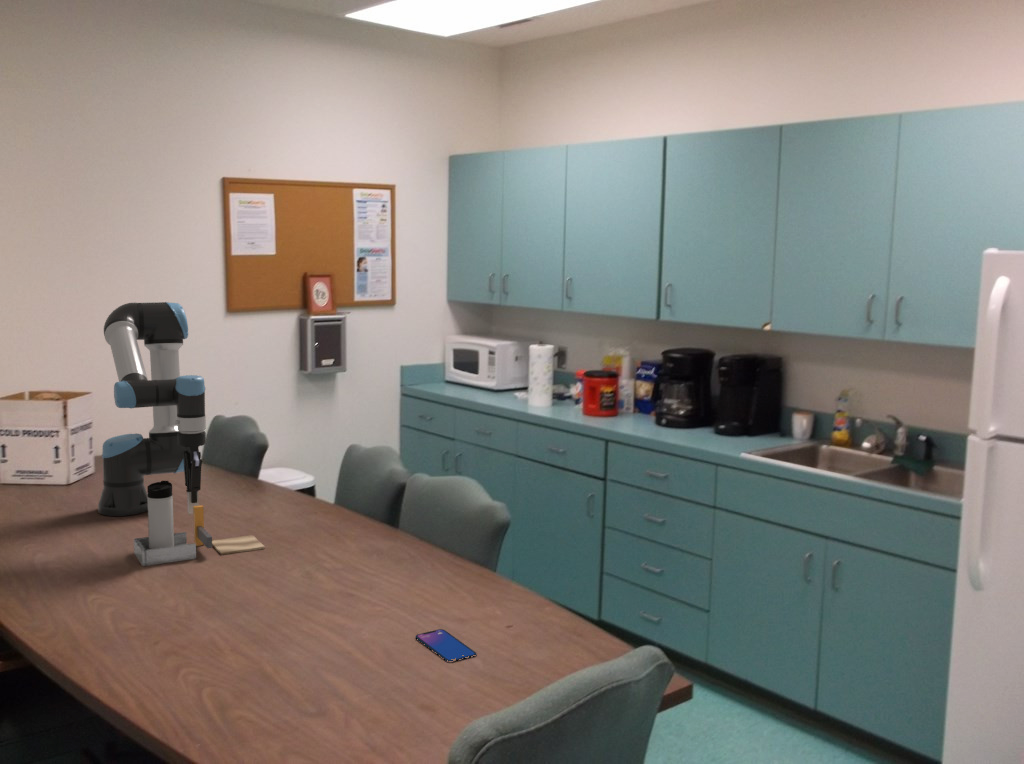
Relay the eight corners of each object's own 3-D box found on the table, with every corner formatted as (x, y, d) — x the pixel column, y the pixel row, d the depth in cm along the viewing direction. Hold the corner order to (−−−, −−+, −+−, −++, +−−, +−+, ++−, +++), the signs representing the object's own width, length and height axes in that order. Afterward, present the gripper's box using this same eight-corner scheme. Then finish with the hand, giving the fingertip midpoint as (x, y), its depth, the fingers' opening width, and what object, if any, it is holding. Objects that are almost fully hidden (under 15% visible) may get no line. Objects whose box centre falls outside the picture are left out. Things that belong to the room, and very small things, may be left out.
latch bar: (194, 544, 262) (193, 506, 261) (202, 543, 264) (202, 504, 262) (205, 557, 251) (204, 517, 250) (214, 556, 253) (213, 516, 251)
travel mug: (178, 553, 255) (177, 480, 252) (167, 560, 248) (165, 487, 245) (156, 551, 255) (154, 479, 253) (144, 559, 249) (142, 485, 246)
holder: (134, 553, 254) (133, 538, 253) (185, 546, 261) (185, 532, 260) (142, 566, 244) (142, 551, 243) (196, 558, 251) (195, 544, 250)
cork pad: (209, 542, 264) (209, 540, 264) (252, 536, 270) (252, 534, 270) (221, 554, 254) (220, 552, 254) (264, 548, 260) (264, 546, 260)
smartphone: (448, 662, 191) (413, 635, 203) (448, 666, 191) (413, 639, 203) (478, 654, 195) (442, 628, 207) (478, 658, 195) (442, 631, 207)
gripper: (172, 428, 267) (174, 509, 270) (182, 436, 256) (184, 520, 259) (199, 426, 271) (201, 506, 274) (211, 434, 260) (212, 517, 263)
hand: (193, 513), depth 266 cm, fingers closed
